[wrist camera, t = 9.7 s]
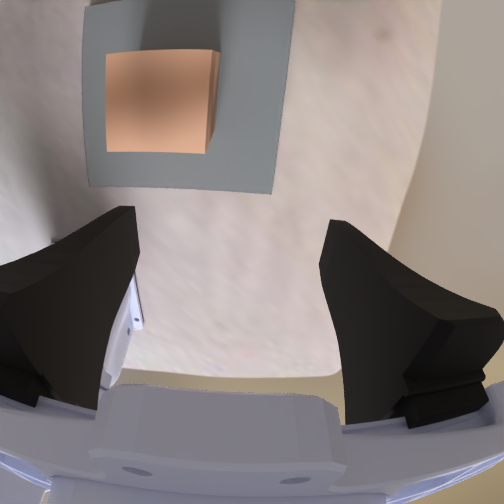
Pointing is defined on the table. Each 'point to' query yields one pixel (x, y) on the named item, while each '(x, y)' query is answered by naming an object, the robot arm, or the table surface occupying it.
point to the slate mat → (228, 95)
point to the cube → (161, 100)
